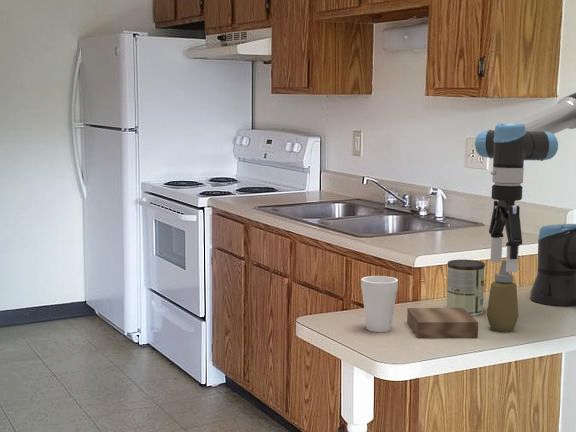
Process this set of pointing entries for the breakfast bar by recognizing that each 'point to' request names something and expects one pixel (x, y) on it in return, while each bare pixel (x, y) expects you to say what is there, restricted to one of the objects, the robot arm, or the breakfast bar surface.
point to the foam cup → (379, 301)
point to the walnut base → (442, 323)
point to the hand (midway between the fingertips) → (503, 266)
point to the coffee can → (466, 285)
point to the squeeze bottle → (503, 301)
